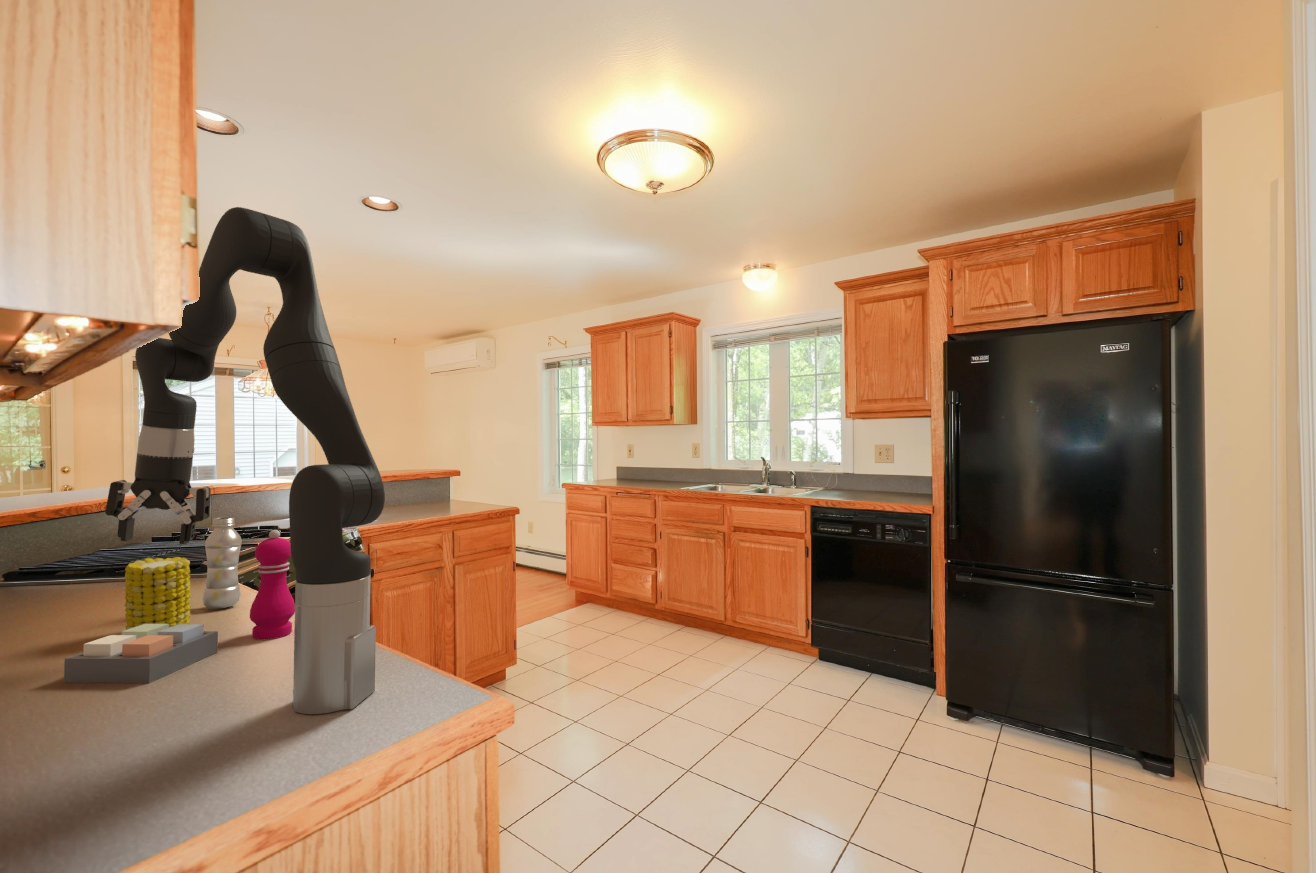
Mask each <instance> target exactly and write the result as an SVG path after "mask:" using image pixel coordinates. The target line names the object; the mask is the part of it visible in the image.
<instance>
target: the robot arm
mask: <svg viewBox="0 0 1316 873" xmlns="http://www.w3.org/2000/svg"><path fill="white" fill-rule="evenodd" d="M313 262H314V261H313V258H312V253H311V248H310V245H309V242H308V239H307V236H306V235H305V233H304V231H303V229H301V228H300V227H299V226H298V225H296V224H295V223H293V222H291V221H289V220H286V219H282V218H279V217H277V216H273V215H270V214H267V213H263V212H260V211H257V210H254V209H250V208H247V207H246V208H245V207H241V206H235V207H232V208H230V209H228V210H226V211H225V212H224V213H223V215H222V216H221V217H220V218H219V220H218V222H217V224H216V226H215V228H214V230H213V232H212V234H211V238H210V240H209V243H208V245H207V247H206V250H205V253H204V255H203V258H202V261H201V264H200V267H199V270H198V272H199V277H200V297H199V300H198V301H197V302H195V303H193V304H189V305H186V306H185V308H184V310H183V317H182V326H181V328H179V329H177V330H175V331H172V332H170V333H169V332H168V335H169V337H170V338H164V337H157V338H158V339H156V340H154V341H152V342H150V343H147V344H146V345H143V346H142V347H139V348H137V347H136V349H135V353H134V354H135V355H134V357H135V359H134V360H135V364H136V368H137V371H138V376H139V378H140V382H141V388H142V394H143V401H144V402H143V405H144V406H143V413H142V424H141V429H140V432H139V435H138V441H137V451H136V461H135V469H134V470H135V471H134V481H133V482H130V481H127V480H125V479H120V480H117V481H112V482H111V483H110V485H109V488H108V489H109V490H108V495H107V502H106V505H105V511H104V512H105V515H106V516H108V517H109V516H112V517H114V518H117V519H118V526H117V527H118V528H117V534H116V535H117V536H118V538H120V541H121V542H128V541H130V540H132V539H133V538H134V530H135V522H136V521H135V520H136V518H135V517H134V516H136V514H138V513H139V512H140V511H141V510H142V509H144V508H145V509H149V510H154V509H159V510H163V511H165V510H166V511H167V510H171V511H172V512H173V514H175V515H177V516H178V517H179V519H180V520H181V521H182V523H181V526H180V533H179V543H178V544H180V545H186V544H189V543H190V542H191V541H193V539H194V538H195V530H196V524H197V523H198V522H202V521H204V520H207V519H209V517H210V514H211V512H210V511H211V492H212V490H211V487H209V486H202V487H192V485H191V476H192V468H193V459H194V453H195V442H196V441H195V425H196V424H195V423H196V416H197V406H198V405H197V401H196V399H195V398H194V397H192V396H189V395H186V394H183V393H179V392H175V391H172V390H170V388H169V387H168V385H167V383H166V380H168V381H169V380H170V381H180V382H191V383H197V382H203V381H205V380H207V379H208V378H210V377H211V375H213V372H214V368H215V360H216V355H217V352H218V348H219V346H220V343H222V341H223V340H224V339H225V337H226V336H227V335H228V333H229V332H230V330H231V329H232V328H233V326H234V324H235V322H236V318H237V306H236V302H235V298H234V295H233V292H232V290H231V286H230V279H231V278H232V277H233V275H235V274H236V273H237V272H238V271H244V272H247V273H253V274H256V275H257V274H258V275H260V276H265V277H270V278H271V277H272V278H274V279H275V280H276V282H277V284H278V285H279V288H280V292H281V298H282V299H281V300H282V305H281V308H280V310H279V313H278V315H277V317H276V318H275V319H274V321H273V323H272V325H271V327H270V328H269V330H268V333H266V334H267V335H266V337H265V339H264V343H263V349H262V350H263V357H264V361H265V363H266V364H265V365H266V367H267V371H268V375H269V378H270V382H271V384H272V388H273V390H274V391H275V392H274V393H275V394H276V395H277V397H278V398H279V400H280V401H281V402H282V404H283V405H284V406H285V407H286V408H287V409H288V410H289V412H291V413H292V415H294V416H295V418H296V419H297V420H299V422H300V423H302V424H303V425H304V427H305V428H306V429H307V430H308V431H309V432H310V433H311V434H312V435H313V436H314V437H315V439H316V440H317V442H318V443H319V445H320V447H321V449H322V451H323V453H324V455H325V458H326V461H327V464H313V465H308V466H305V467H303V468H302V469H301V470H299V472H297V474H296V475H295V476H294V478H293V480H292V484H291V486H290V491H289V495H288V496H289V497H288V498H289V499H288V518H289V531H290V532H289V542H290V546H291V557H290V558H291V561H292V563H293V567H294V569H295V570H294V571H295V587H294V588H295V589H294V590H295V591H294V592H295V593H294V596H295V597H294V603H295V613H294V635H293V636H294V638H293V639H294V642H293V643H294V645H293V687H292V688H293V690H292V696H293V697H292V709H293V710H294V711H295V712H297V713H300V714H305V715H320V714H328V713H333V712H339V711H343V710H352V709H354V708H355V707H357V706H358V705H360V703H362V702H363V701H364V700H365V699H367V698H368V697H369V696H370V695H371V694H372V693H374V692H375V690H376V651H377V650H376V648H377V646H376V643H377V642H376V639H377V632H376V631H377V627H376V626H375V625H373V624H370V623H371V619H370V618H371V616H370V615H371V571H372V569H371V568H372V562H371V561H372V560H371V557H370V555H369V554H368V553H366V552H363V551H359V550H353V549H351V548H349V547H348V546H347V545H346V544H345V542H344V536H343V535H344V534H343V529H347V528H354V527H360V526H366V525H369V524H372V523H373V522H375V521H376V520H378V518H379V517H380V516H381V515H382V513H383V510H384V507H385V502H386V493H385V492H386V491H385V487H384V481H383V479H382V476H381V474H380V471H379V468H378V465H377V464H376V461H375V458H374V456H373V454H372V452H371V450H370V448H369V445H368V443H367V441H366V438H365V437H364V434H363V432H362V429H361V427H360V424H359V421H358V419H357V415H356V412H355V410H354V407H353V403H352V401H351V398H350V395H349V393H348V392H349V391H348V388H347V387H346V383H345V378H344V374H343V370H342V368H341V364H340V360H339V358H338V354H337V350H336V349H335V346H334V342H333V341H332V337H331V335H330V330H329V328H328V325H327V321H326V318H325V314H324V310H323V307H322V303H321V299H320V298H321V297H320V296H319V289H318V284H317V279H316V278H317V277H316V274H315V268H314V263H313ZM130 491H131V493H133V495H134V496H135V497H136V498H135V499H133V500H132V501H131V502H130V503H129V504H128V505H126V507H125V508H124V502H125V497H126V494H128V493H129V492H130ZM190 495H192V498H193V500H195V512H194V510H193V509H192V506H191V504H190V502H189V501H188V500H187V497H189V496H190Z"/></svg>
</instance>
